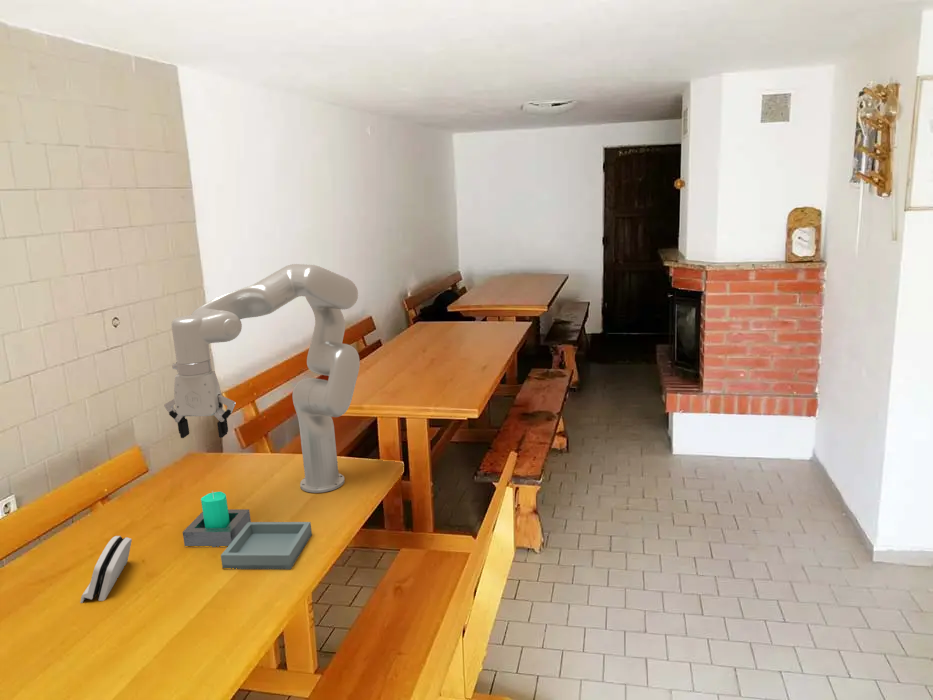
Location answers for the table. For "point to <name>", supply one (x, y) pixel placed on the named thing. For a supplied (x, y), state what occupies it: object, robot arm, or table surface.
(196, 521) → the holder
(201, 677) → the table surface
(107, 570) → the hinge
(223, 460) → the table surface
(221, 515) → the candle
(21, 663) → the table surface
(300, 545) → the tray
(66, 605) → the table surface
